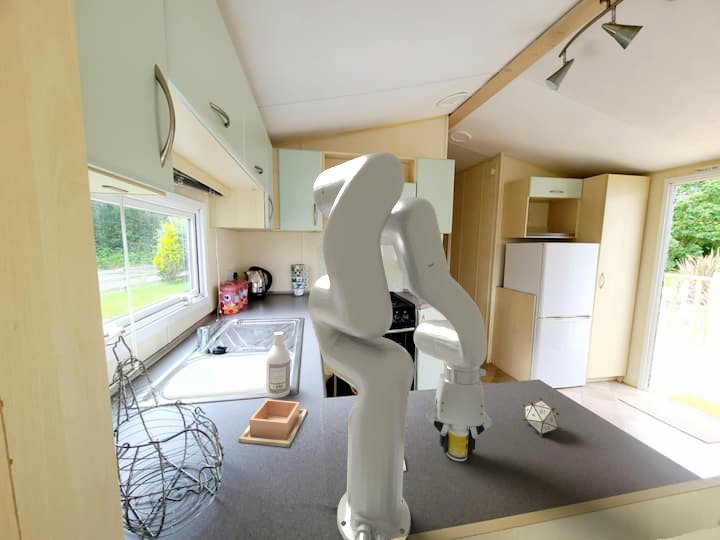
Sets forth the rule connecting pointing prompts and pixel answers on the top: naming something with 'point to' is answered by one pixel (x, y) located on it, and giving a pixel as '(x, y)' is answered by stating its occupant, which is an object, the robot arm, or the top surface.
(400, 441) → the robot arm
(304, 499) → the top surface
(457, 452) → the supplement bottle
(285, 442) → the tray
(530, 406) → the game die
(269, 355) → the bath foam
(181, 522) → the top surface
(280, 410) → the peach square bin
